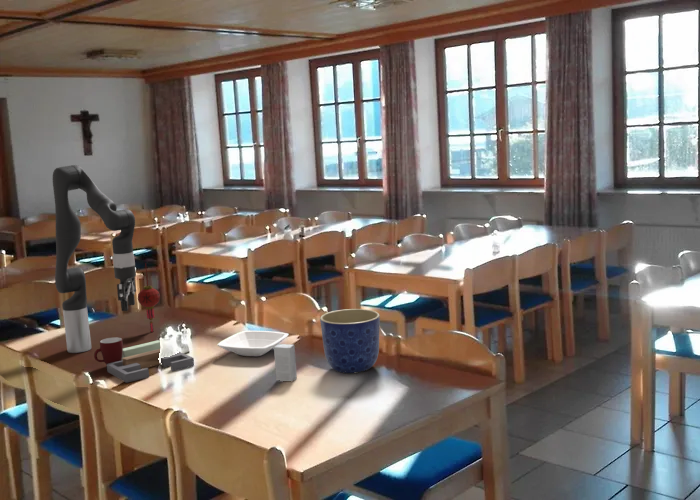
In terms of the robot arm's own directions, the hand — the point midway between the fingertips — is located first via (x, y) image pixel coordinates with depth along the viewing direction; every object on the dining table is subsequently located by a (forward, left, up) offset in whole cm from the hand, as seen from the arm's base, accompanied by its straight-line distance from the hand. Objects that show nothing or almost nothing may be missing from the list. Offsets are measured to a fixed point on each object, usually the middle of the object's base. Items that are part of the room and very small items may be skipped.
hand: (128, 307), depth 302 cm
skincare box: (+57, +30, -22) cm, 69 cm away
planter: (+64, +53, -22) cm, 86 cm away
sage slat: (-7, +6, -22) cm, 24 cm away
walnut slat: (+5, +2, -22) cm, 23 cm away
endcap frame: (+10, +2, -22) cm, 24 cm away
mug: (-4, -8, -22) cm, 24 cm away
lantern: (-41, +25, -22) cm, 53 cm away
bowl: (+21, +39, -22) cm, 50 cm away
